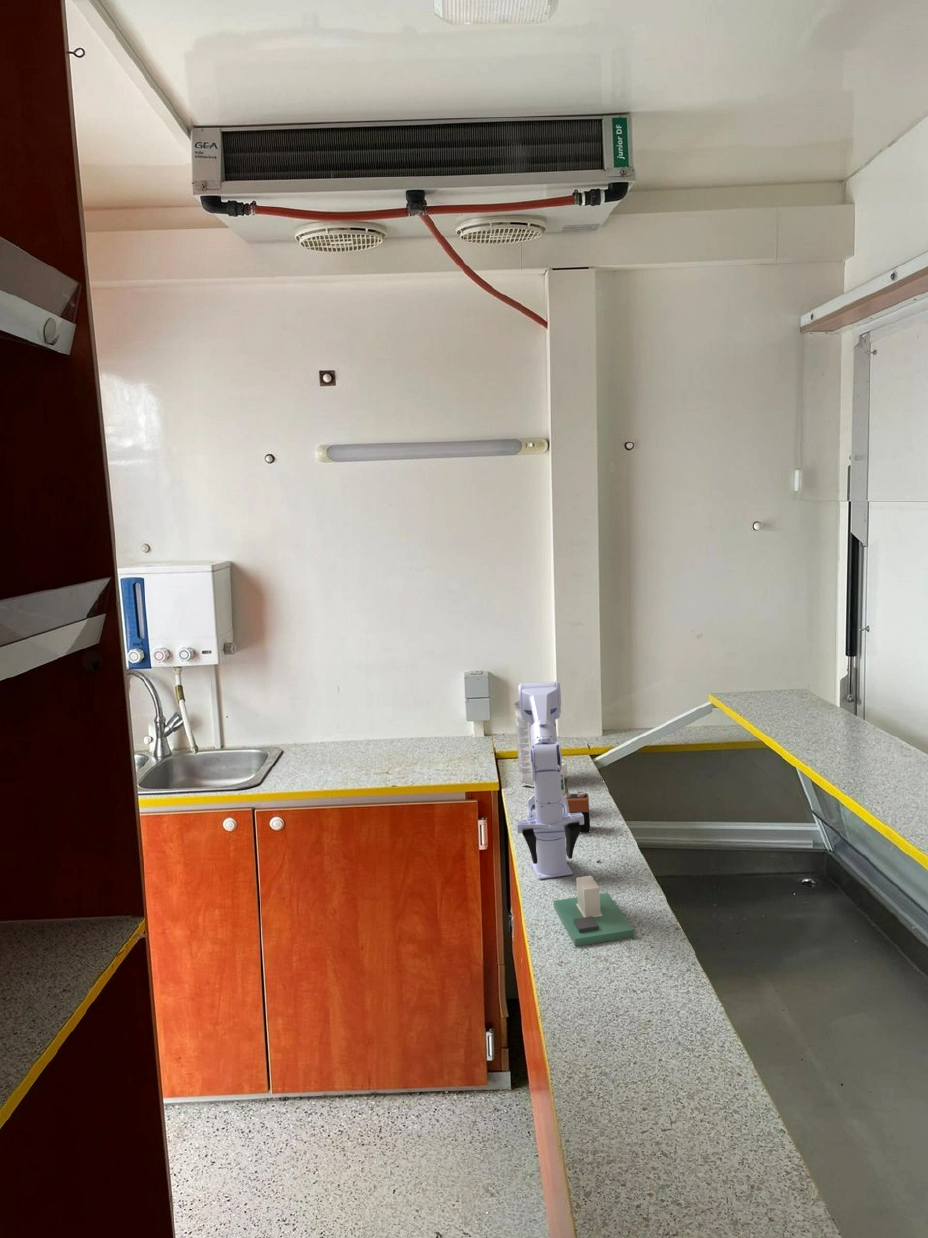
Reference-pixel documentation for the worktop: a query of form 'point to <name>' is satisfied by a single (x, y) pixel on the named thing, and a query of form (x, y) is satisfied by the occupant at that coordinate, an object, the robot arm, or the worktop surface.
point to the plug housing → (588, 896)
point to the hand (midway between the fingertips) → (552, 859)
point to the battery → (579, 807)
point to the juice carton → (524, 746)
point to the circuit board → (593, 921)
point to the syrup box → (564, 778)
